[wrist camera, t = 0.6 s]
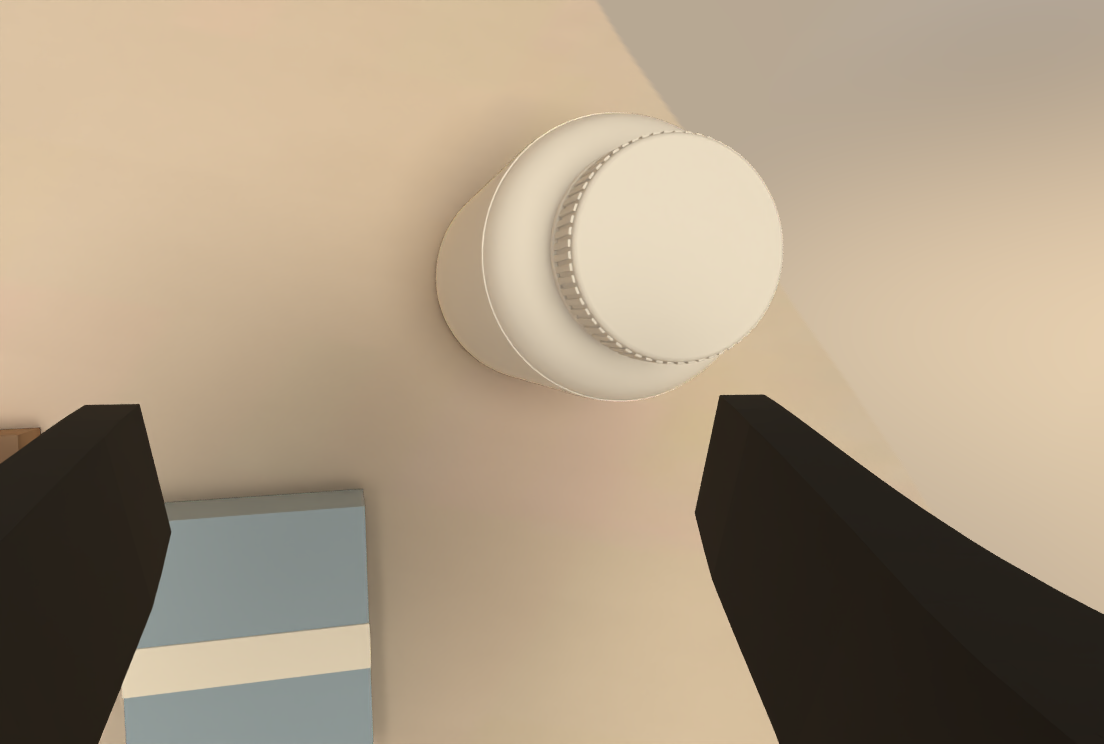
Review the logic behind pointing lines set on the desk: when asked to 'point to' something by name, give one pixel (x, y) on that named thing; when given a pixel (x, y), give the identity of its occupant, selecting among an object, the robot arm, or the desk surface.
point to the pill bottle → (612, 258)
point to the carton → (257, 626)
